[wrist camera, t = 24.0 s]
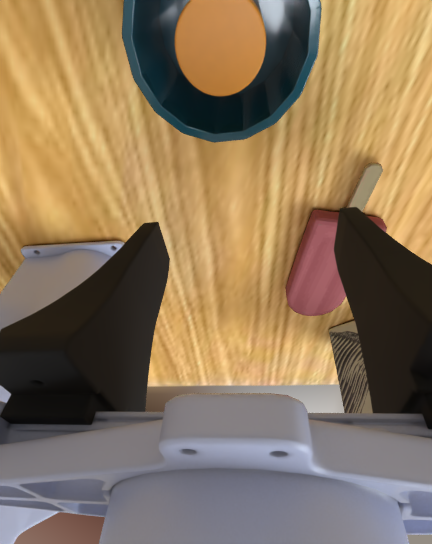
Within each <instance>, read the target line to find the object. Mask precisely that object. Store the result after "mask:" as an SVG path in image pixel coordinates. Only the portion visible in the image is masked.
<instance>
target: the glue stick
mask: <svg viewBox="0 0 432 544" xmlns="http://www.w3.org/2000/svg"><path fill="white" fill-rule="evenodd" d="M265 51H266V32H265V26H264V22H263V18H262V14H261V10H260V6H259V2H258V0H189V2H188V3H187V4H186V5H185V7H184V8H183V10H182V12H181V14H180V16H179V19H178V22H177V25H176V30H175V52H176V57H177V60H178V63H179V66H180V68H181V70H182V72H183V74H184V75H185V77H186V78H187V79H188V81H189V82H190V83H191V84H192V85H193V86H194V87H196V88H197V89H198V90H200V91H202V92H204V93H206V94H209V95H213V96H228V95H232V94H235V93H237V92H239V91H241V90H242V89H244V88H245V87H246V86H248V85H249V84H250V83H251V82H252V81H253V79H254V78H255V77H256V75H257V74H258V72H259V70H260V68H261V65H262V63H263V60H264V56H265Z"/></svg>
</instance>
